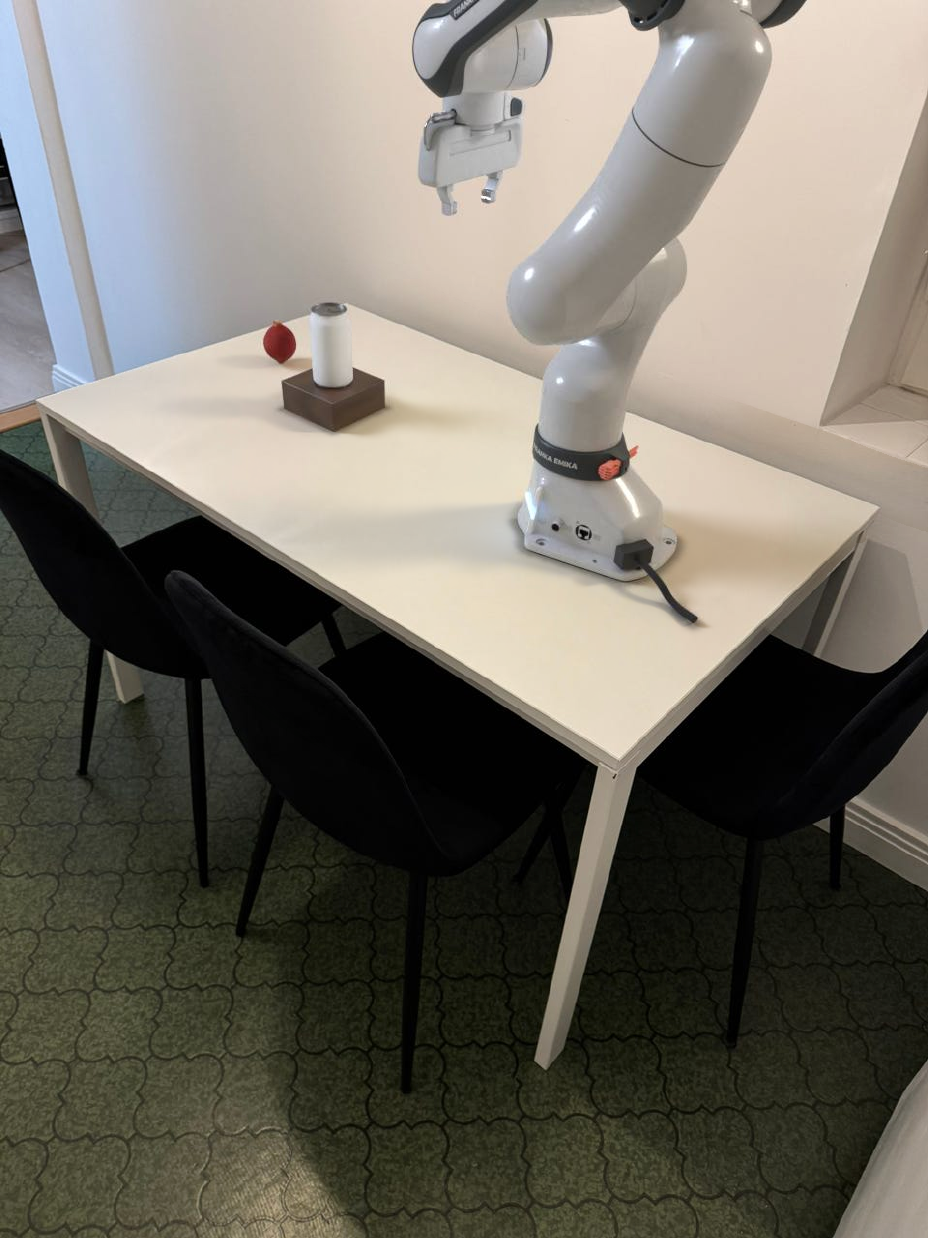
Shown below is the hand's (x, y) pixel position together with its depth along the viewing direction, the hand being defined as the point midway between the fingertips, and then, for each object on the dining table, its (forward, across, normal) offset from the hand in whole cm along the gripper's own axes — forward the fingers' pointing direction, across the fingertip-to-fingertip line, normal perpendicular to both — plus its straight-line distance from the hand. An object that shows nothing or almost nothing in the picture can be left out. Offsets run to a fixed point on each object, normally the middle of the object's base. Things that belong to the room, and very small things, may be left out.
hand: (469, 208), depth 138 cm
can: (+26, -18, +13) cm, 34 cm away
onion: (+31, -12, +33) cm, 47 cm away
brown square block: (+31, -18, +13) cm, 38 cm away
